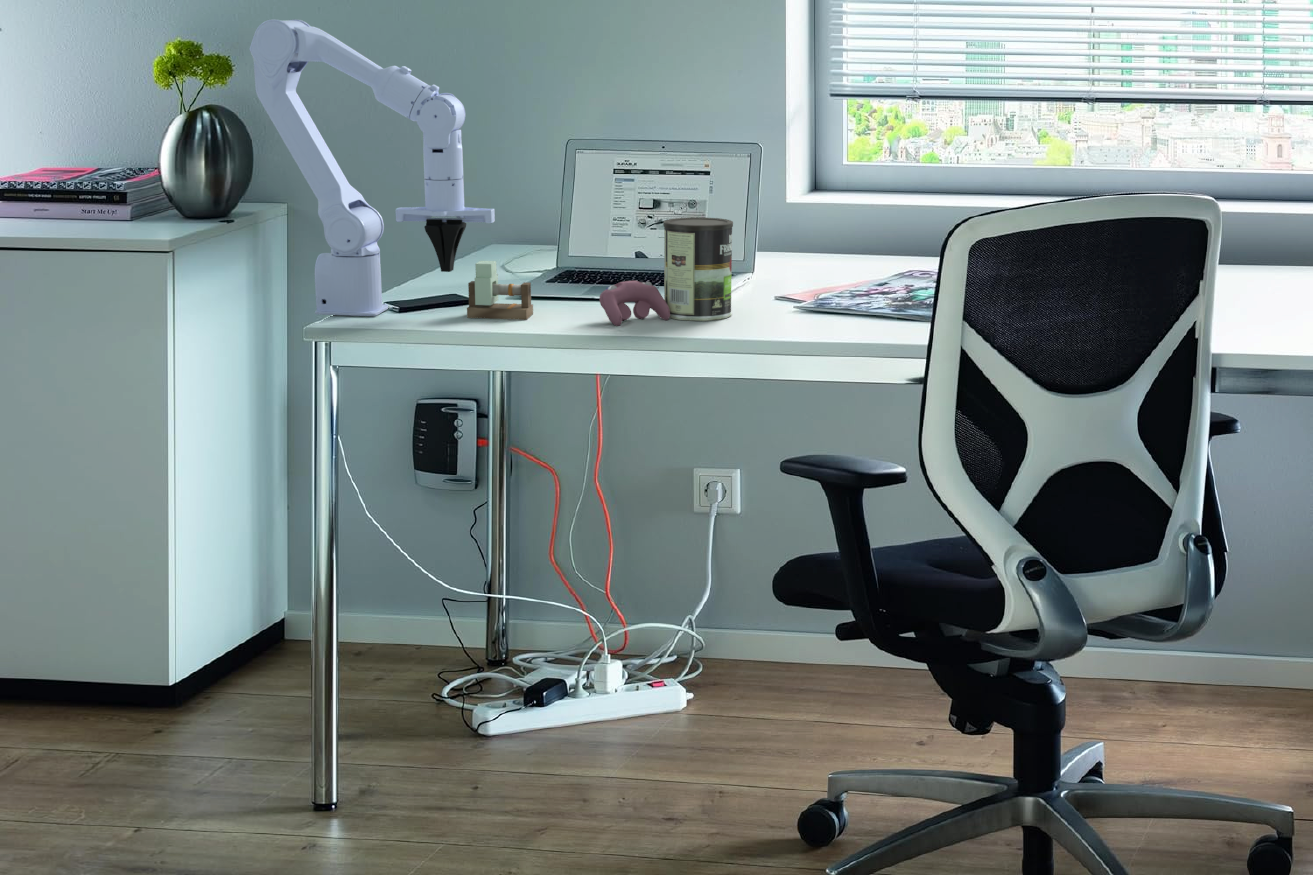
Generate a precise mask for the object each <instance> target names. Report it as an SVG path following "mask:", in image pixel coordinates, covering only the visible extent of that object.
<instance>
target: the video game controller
mask: <svg viewBox="0 0 1313 875" xmlns="http://www.w3.org/2000/svg"><path fill="white" fill-rule="evenodd" d="M598 299H599V304H600V306H601V308H602V309H603V310H604V312H605V315H606V317H607V318H608V320H609V321H610V322H611V323H612V325H614V326H616V327H621V325H622V324H623V322H625V321H627V320H629V319H630V318H631V317H632V313H633V315H634V317H635V318H636V319H637V320H645V319H646V318H647V317H648V316H649V314H650V310H653V311H654V312H655V314H656V315H657V317H659V318H661V319H662V320H664V321H668V320H669V319H670V318H669V317H670V309H669V307H668V305H667V303H666V302H665V300H664V297H663V295H662V294H661V293H660V291H659V289H658V288H657V287H656V286H654V285H653V284H652V283H651V282H650V281H646V282H643V281H638V280H626V281H620V282H618V283H617V282H616V284H613V285H610V286H608V287H606V288H605V290H603V291H602V292H601V293H600V295H599V298H598ZM628 302H629V303H630V302H634V305H633V309H632V310H631V308H630V307H629V305H628V304H626V303H628Z"/></svg>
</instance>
